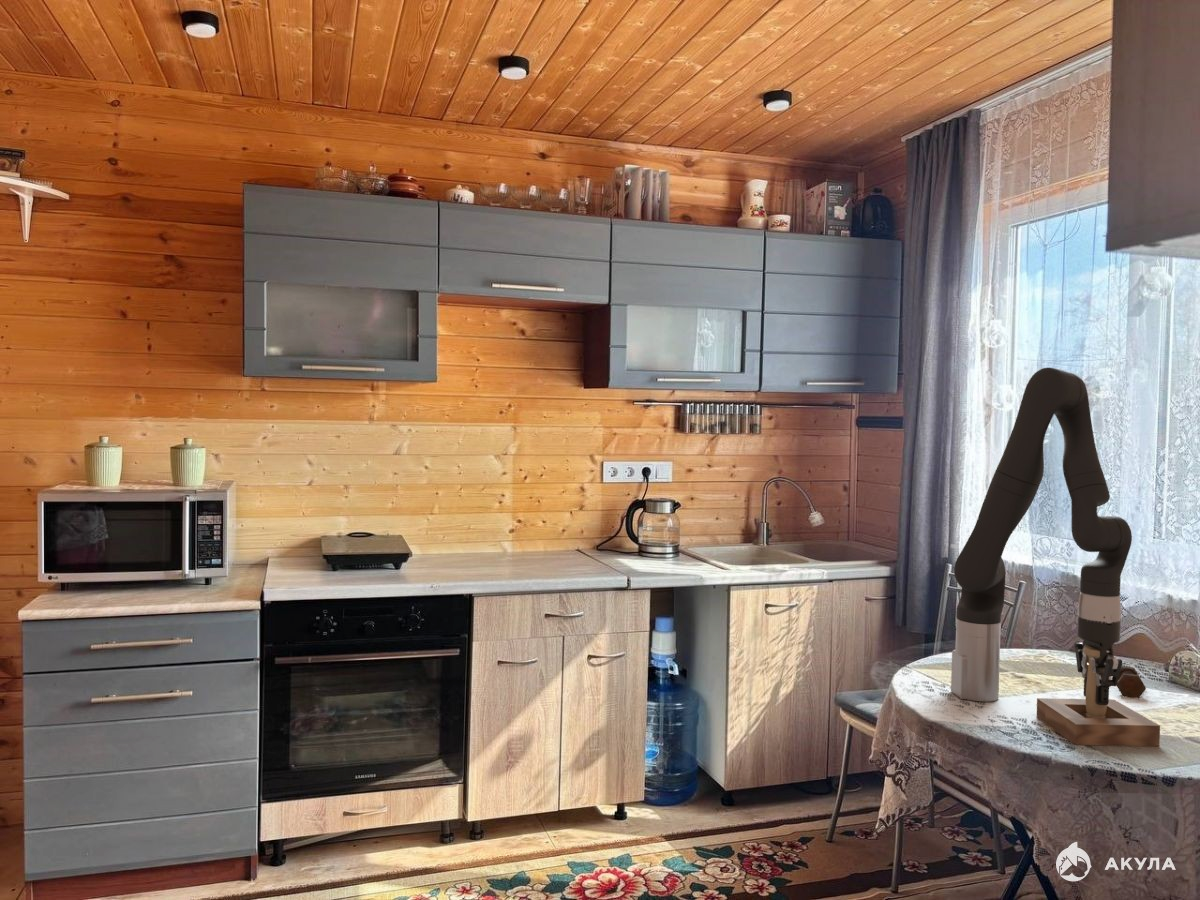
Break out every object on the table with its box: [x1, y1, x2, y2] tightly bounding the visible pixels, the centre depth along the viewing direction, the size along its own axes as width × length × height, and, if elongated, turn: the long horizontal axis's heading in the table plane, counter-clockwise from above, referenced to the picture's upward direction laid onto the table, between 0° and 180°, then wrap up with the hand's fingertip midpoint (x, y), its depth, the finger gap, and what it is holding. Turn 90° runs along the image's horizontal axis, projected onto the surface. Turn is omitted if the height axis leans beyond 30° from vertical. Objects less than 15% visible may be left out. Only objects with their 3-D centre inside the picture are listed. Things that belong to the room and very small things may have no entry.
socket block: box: [1036, 697, 1161, 747], centre depth 183 cm, size 16×16×4 cm
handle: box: [1084, 644, 1107, 718], centre depth 182 cm, size 5×6×15 cm
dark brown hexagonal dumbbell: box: [1116, 665, 1147, 699], centre depth 212 cm, size 6×5×15 cm
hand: (1095, 700), depth 183 cm, fingers closed on handle, 4 cm apart
